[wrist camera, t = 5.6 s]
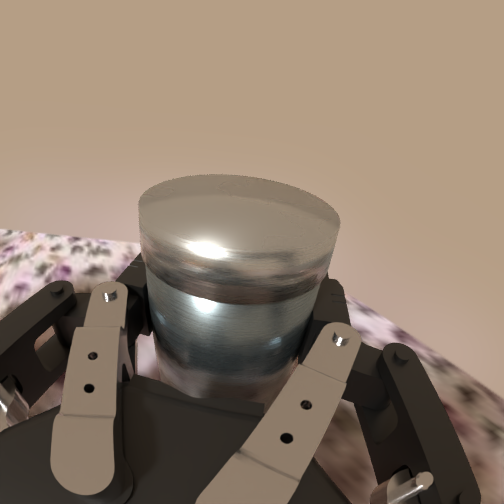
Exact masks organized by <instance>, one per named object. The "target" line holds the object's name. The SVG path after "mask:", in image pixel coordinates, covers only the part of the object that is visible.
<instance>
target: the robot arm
mask: <svg viewBox="0 0 504 504" xmlns="http://www.w3.org/2000/svg"><path fill="white" fill-rule="evenodd" d="M50 326H53V329H54V331H55V334H54V335H53V336H52V337H51V338H50V339H49V340H48V341H47V342H46V343H44V344H43V345H42V346H41V347H40V348H39V349H38V350H37V351H36V352H35V349H34V344H35V341H36V339H37V338H38V337H39V336H40V335H41V334H42V333H44V332H45V331H46V330H47V329H48V328H49V327H50ZM151 332H152V323H151V315H150V307H149V298H148V288H147V278H146V266H145V263H144V261H143V258H142V255H141V253H140V254H139V255H138V256H137V257H136V258H135V259H134V261H132V262H131V264H130V266H128V267H127V268H126V269H125V270H124V272H123V273H122V274H121V275H120V276H119V277H118V278H117V280H116V281H115V282H114V281H111V282H105V283H102V284H100V285H98V286H96V287H95V288H94V289H93V291H92V293H75V292H74V288H73V285H72V284H71V283H70V282H68V281H63V280H61V281H55V282H52V283H50V284H48V285H47V286H45V287H44V288H43V289H41V290H40V291H38V292H37V293H36V294H34V295H33V296H32V297H30V298H29V299H28V300H27V301H25V302H24V303H23V304H21V305H20V306H19V307H17V308H16V309H15V310H14V311H12V312H11V313H10V314H9V315H7V316H6V317H5V318H4V319H2V320H1V321H0V504H352V503H351V502H350V501H349V500H348V499H347V498H346V496H345V495H344V494H343V493H342V492H341V491H340V489H339V488H338V487H337V486H336V485H335V483H334V482H333V481H332V480H331V478H330V477H329V476H328V475H327V474H326V472H325V471H324V470H323V469H322V467H321V466H320V465H319V464H318V462H317V461H316V460H315V458H314V457H313V455H314V453H315V452H316V450H317V448H318V446H319V444H320V442H321V440H322V438H323V436H324V434H325V432H326V430H327V428H328V426H329V423H330V421H331V419H332V417H333V415H334V413H335V411H336V408H337V406H338V404H339V402H340V399H344V400H347V401H350V402H353V403H354V406H355V410H356V413H357V416H358V419H359V422H360V425H361V428H362V432H363V435H364V438H365V441H366V445H367V448H368V451H369V455H370V458H371V462H372V465H373V469H374V472H375V476H376V479H377V483H378V486H377V487H376V488H375V489H374V490H373V492H372V494H371V497H370V504H480V502H481V494H480V490H479V488H478V485H477V482H476V480H475V477H474V474H473V472H472V469H471V467H470V464H469V462H468V459H467V457H466V455H465V452H464V450H463V447H462V445H461V443H460V441H459V438H458V436H457V434H456V432H455V429H454V427H453V425H452V423H451V421H450V419H449V417H448V415H447V412H446V410H445V408H444V406H443V404H442V402H441V400H440V398H439V396H438V394H437V392H436V390H435V388H434V386H433V385H432V383H431V381H430V379H429V377H428V375H427V373H426V371H425V369H424V368H423V366H422V364H421V362H420V360H419V359H418V357H417V355H416V353H415V352H414V351H413V350H412V349H411V348H409V347H408V346H406V345H404V344H401V343H390V344H388V345H386V346H385V347H384V349H383V351H382V350H379V349H376V348H373V347H371V346H368V345H366V344H364V343H362V342H361V337H360V335H359V333H358V332H357V331H356V330H355V329H354V328H353V327H351V324H350V319H349V314H348V309H347V304H346V299H345V294H344V290H343V287H342V286H341V285H340V284H339V282H338V281H337V280H335V279H329V277H328V272H327V274H326V276H325V278H324V279H323V280H322V281H321V284H320V287H319V290H318V294H317V297H316V300H315V304H314V307H313V310H312V313H311V317H310V320H309V323H308V326H307V329H306V332H305V335H304V338H303V341H302V344H301V347H300V350H299V353H298V366H297V367H296V369H295V370H294V372H293V374H292V375H291V377H290V378H289V380H288V381H287V383H286V384H285V386H284V387H283V389H282V391H281V392H280V394H279V395H278V397H277V398H276V399H275V401H274V402H273V404H272V405H271V407H270V408H269V410H268V411H267V413H266V414H265V413H263V412H264V405H265V403H258V402H252V401H246V400H240V399H234V398H194V397H191V396H189V395H187V394H185V393H183V392H181V391H179V390H177V389H175V388H173V387H171V386H169V385H167V384H166V383H164V382H160V381H157V380H153V379H150V378H146V377H143V376H140V375H138V373H137V340H136V339H137V337H138V336H139V334H143V335H146V336H150V334H151ZM66 369H67V370H66ZM65 371H66V375H65V381H64V387H63V394H62V401H61V405H59V406H56V407H54V408H52V409H50V410H48V411H45V412H43V413H41V414H38V415H36V416H34V417H32V418H28V417H27V416H28V413H29V409H30V408H31V407H32V405H33V404H34V403H35V402H36V401H37V400H38V399H39V398H40V397H41V396H42V395H43V394H44V393H45V391H46V390H47V389H48V388H49V387H50V386H51V385H52V384H53V383H54V382H55V381H56V380H57V379H58V378H59V377H60V376H61V375H62V374H63V373H64V372H65Z"/></svg>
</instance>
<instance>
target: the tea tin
mask: <svg viewBox="0 0 504 504" xmlns="http://www.w3.org/2000/svg"><path fill="white" fill-rule="evenodd" d="M339 227H340V218H339V216H338V214H337V213H336V211H335V210H334V209H333V208H332V207H331V206H330V205H329V204H327V203H326V202H325V201H323V200H322V199H320V198H318V197H316V196H315V195H313V194H311V193H308V192H306V191H304V190H301V189H299V188H296V187H293V186H290V185H287V184H283V183H279V182H275V181H271V180H266V179H261V178H255V177H248V176H238V175H195V176H187V177H181V178H176V179H172V180H168V181H165V182H162V183H159V184H157V185H155V186H153V187H151V188H149V189H148V190H147V191H145V192H144V194H143V195H142V196H141V197H140V200H139V228H140V245H141V255H142V258H143V261H144V263H145V266H146V278H147V288H148V298H149V307H150V315H151V323H152V330H153V337H154V344H155V350H156V356H157V362H158V368H159V374H160V379H161V382H164V383H166V384H167V385H169V386H171V387H173V388H175V389H177V390H179V391H181V392H183V393H185V394H187V395H189V396H191V397H194V398H234V399H240V400H246V401H252V402H258V403H265V405H264V412H263V413H265V414H266V413H267V411H268V410H269V408H270V407H271V405H272V404H273V402H274V401H275V399H276V398H277V397H278V395H279V394H280V392H281V391H282V389H283V387H284V386H285V384H286V383H287V381H288V380H289V378H290V376H291V373H292V371H293V368H294V365H295V362H296V359H297V356H298V353H299V350H300V347H301V344H302V341H303V338H304V335H305V332H306V329H307V326H308V323H309V320H310V317H311V313H312V310H313V307H314V304H315V300H316V297H317V294H318V290H319V287H320V284H321V281H322V280H323V279H324V278H325V276H326V274H327V272H328V268H329V264H330V261H331V257H332V254H333V250H334V247H335V243H336V239H337V235H338V231H339Z"/></svg>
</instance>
